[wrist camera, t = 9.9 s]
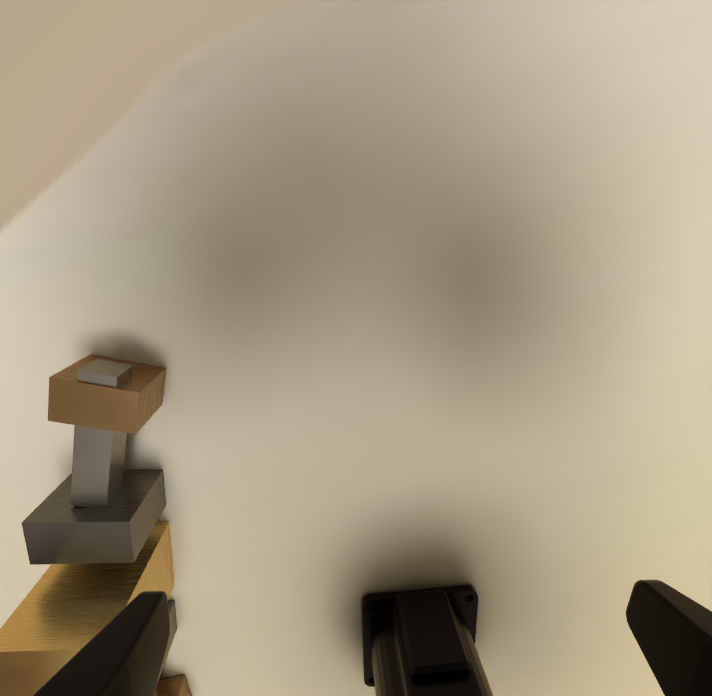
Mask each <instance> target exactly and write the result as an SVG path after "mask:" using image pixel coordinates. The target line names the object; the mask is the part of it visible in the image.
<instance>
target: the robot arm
mask: <svg viewBox="0 0 712 696" xmlns="http://www.w3.org/2000/svg"><path fill="white" fill-rule="evenodd" d="M369 604H371V605H369ZM477 605H478V595H477V592H476V590H475V588H474V587H473V586H471V585H462V586H451V587H441V588H430V589H419V590H409V591H398V592H388V593H377V594H369V595H366V596H364V597H363V598H362V600H361V612H362V639H363V666H364V681H365V684H366V685H367V686H372V687H374V686H375V691H376V696H493V694H492V691H491V688H490V686H489V683H488V680H487V678H486V675H485V672H484V669H483V667H482V664H481V661H480V658H479V656H478V653H477V650H476V647H475V634H476V620H477ZM626 618H627V622H628V625H629V627H630V629H631V631H632V633H633V635H634V637H635V639H636V641H637V642H638V644H639V646H640V648H641V650H642V652H643V654H644V656H645V658H646V660H647V662H648V664H649V666H650V668H651V670H652V671H653V673H654V675H655V677H656V679H657V681H658V683H659V685H660V687H661V689H662V691H663V693H664V695H665V696H712V611H710V610H708V609H707V608H705V607H703V606H702V605H700V604H698V603H697V602H695V601H693V600H692V599H690V598H688V597H687V596H685V595H683V594H682V593H680V592H678V591H677V590H675V589H673V588H672V587H670V586H668V585H667V584H665V583H663V582H662V581H659V580H639V581H637V582H636V583H635V584H634V587H633V590H632V593H631V596H630V600H629V603H628V606H627V610H626ZM169 634H170V619H169V608H168V598H167V594H166V592H164V591H144V592H142V593H140V594H138V595H137V596H136V597H135V598H134V599H133V600H132V601H131V602H130V603H129V604H128V605H127V606H126V607H125V608H124V609H123V610H121V611H120V612H119V613H118V614H117V615H116V616H115V617H114V618H113V619H112V620H111V621H110V622H109V623H108V624H107V625H106V626H105V627H104V628H103V629H102V630H100V631H99V632H98V633H97V634H96V635H95V636H94V637H93V638H92V639H91V640H90V641H89V642H88V643H87V644H86V645H85V646H84V647H83V648H82V649H81V650H79V651H78V652H77V653H76V654H75V655H74V656H73V657H72V658H71V659H70V660H69V661H68V662H67V663H66V664H65V665H64V666H63V667H62V668H61V669H60V670H59V671H57V672H56V673H55V674H54V675H53V676H52V677H51V678H50V679H49V680H48V681H47V682H46V683H45V684H44V685H43V686H42V687H41V688H40V689H39V690H38V691H36V692H35V693H34V694H33V695H32V696H154V692H155V688H156V684H157V681H158V677H159V673H160V670H161V666H162V662H163V658H164V655H165V651H166V647H167V643H168V639H169Z"/></svg>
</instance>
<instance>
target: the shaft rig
mask: <svg viewBox="0 0 712 696" xmlns="http://www.w3.org/2000/svg"><path fill="white" fill-rule="evenodd" d="M165 373H166V368H161V367H155V366H150V365H144V364H139V363H133V362H128V361H122V360H117V359H111V358H106V357H100V356H95V355H89V356H87V357H85V358H83V359H81V360H80V361H78V362H76V363H74V364H72V365H71V366H69V367H67V368H65V369H63V370H62V371H60V372H58V373H56V374H54V375H53V376H51V377H49V405H48V421H54V422H60V423H66V424H73V425H75V429H74V448H73V466H72V473H71V474H70V475H69V476H68V477H67V478H66V479H65V480H64V481H63V482H62V483H61V484H60V485H59V486H58V487H57V488H56V489H55V490H54V491H53V492H52V493H51V494H50V495H49V496H48V497H47V498H46V499H45V500H44V501H43V502H42V503H41V504H40V505H39V506H38V507H37V508H36V509H35V510H34V511H33V512H32V513H31V514H30V515H29V516H28V517H27V518H26V519H25V520H24V521H23V522H22V527H23V532H24V536H25V541H26V546H27V551H28V556H29V561H30V564H82V563H134V562H135V560H136V558H137V557H138V555H139V553H140V551H141V549H142V548H143V546H144V544H145V542H146V540H147V539H148V537H149V535H150V533H151V531H152V530H153V528H154V526H155V524H156V522H157V521H158V519H159V517H160V515H161V513H162V512H163V510H164V508H165V506H166V502H165V491H164V480H163V470H124V461H125V450H126V439H127V433H129V434H136V433H137V432H138V431H139V430H140V429H141V428H142V427H143V425H144V424H145V423H146V422H147V421H148V420H149V419H150V418H151V416H152V415H153V414H154V413H155V412H156V411H157V410H158V409H159V407H160V406H161V405H162V399H163V390H164V382H165ZM168 608H169V619H170V634H169V639H168V643H167V647H166V651H165V655H164V658H163V662H162V666H161V670H160V673H159V677H160V675H161V672H162V669H163V666H164V664H165V661H166V658H167V655H168V652H169V650H170V647H171V644H172V641H173V638H174V636H175V633H176V630H177V626H176V615H175V604H174V601H168ZM159 677H158V681H157V684H156V688H155V692H154V696H192V695H191V692H190V689H189V686H188V683H187V680H186V677H185V675H182V676H176V677H170V678H164V679H159Z"/></svg>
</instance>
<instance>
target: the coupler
mask: <svg viewBox="0 0 712 696" xmlns="http://www.w3.org/2000/svg"><path fill="white" fill-rule="evenodd" d="M173 587H174V575H173V563H172V550H171V538H170V526H169V522H156V524H155V526H154V528H153V530H152V531H151V533H150V535H149V537H148V539H147V540H146V542H145V544H144V546H143V548H142V549H141V551H140V553H139V555H138V557H137V558H136V560H135V562H134V563H82V564H52V565H51V566H50V567H49V568H48V570H47V571H46V572H45V573H44V575H43V576H42V577H41V578H40V580H39V581H38V582H37V583H36V585H35V586H34V587H33V588H32V590H31V591H30V592H29V593H28V595H27V596H26V597H25V598H24V600H23V601H22V602H21V603H20V605H19V606H18V607H17V609H16V610H15V611H14V612H13V614H12V615H11V616H10V617H9V619H8V620H7V621H6V622H5V624H4V625H3V626H2V627H1V629H0V696H32V695H33V694H34V693H35V692H36V691H38V690H39V689H40V688H41V687H42V686H43V685H44V684H45V683H46V682H47V681H48V680H49V679H50V678H51V677H52V676H53V675H54V674H55V673H56V672H57V671H59V670H60V669H61V668H62V667H63V666H64V665H65V664H66V663H67V662H68V661H69V660H70V659H71V658H72V657H73V656H74V655H75V654H76V653H77V652H78V651H79V650H81V649H82V648H83V647H84V646H85V645H86V644H87V643H88V642H89V641H90V640H91V639H92V638H93V637H94V636H95V635H96V634H97V633H98V632H99V631H100V630H102V629H103V628H104V627H105V626H106V625H107V624H108V623H109V622H110V621H111V620H112V619H113V618H114V617H115V616H116V615H117V614H118V613H119V612H120V611H121V610H123V609H124V608H125V607H126V606H127V605H128V604H129V603H130V602H131V601H132V600H133V599H134V598H135V597H136V596H137V595H138V594H140V593H142V592H144V591H164V592H166V594H167V598H168V599H169V597H170V594H171V592H172V589H173Z"/></svg>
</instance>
